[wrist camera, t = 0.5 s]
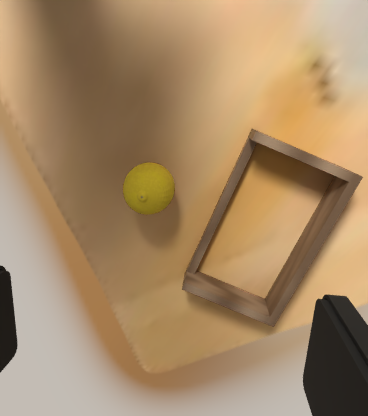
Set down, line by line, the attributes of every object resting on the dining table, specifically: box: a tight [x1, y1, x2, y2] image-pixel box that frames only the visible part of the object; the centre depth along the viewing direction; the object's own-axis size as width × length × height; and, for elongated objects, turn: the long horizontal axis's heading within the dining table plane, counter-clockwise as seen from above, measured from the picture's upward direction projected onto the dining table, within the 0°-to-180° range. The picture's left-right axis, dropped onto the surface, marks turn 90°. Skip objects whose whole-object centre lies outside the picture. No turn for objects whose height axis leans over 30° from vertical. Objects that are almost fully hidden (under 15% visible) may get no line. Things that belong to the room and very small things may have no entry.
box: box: [182, 129, 363, 327], centre depth 39 cm, size 12×20×4 cm, turn 158°
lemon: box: [123, 163, 175, 215], centre depth 36 cm, size 6×6×8 cm
